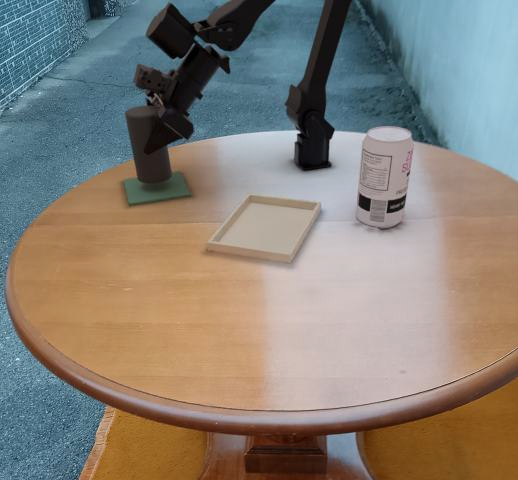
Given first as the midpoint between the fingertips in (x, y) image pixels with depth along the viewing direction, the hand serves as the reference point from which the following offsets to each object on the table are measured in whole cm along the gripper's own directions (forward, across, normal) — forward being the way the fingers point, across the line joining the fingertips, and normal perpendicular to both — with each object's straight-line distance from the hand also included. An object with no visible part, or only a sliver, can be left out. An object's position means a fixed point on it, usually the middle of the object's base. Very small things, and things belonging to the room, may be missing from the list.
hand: (142, 146), depth 102 cm
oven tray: (-5, +25, +18) cm, 31 cm away
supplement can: (-19, +28, +32) cm, 47 cm away
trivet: (+5, 0, +7) cm, 9 cm away
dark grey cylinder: (+3, 0, +5) cm, 6 cm away
